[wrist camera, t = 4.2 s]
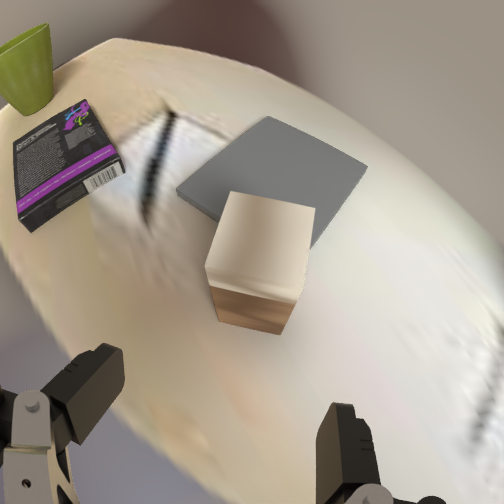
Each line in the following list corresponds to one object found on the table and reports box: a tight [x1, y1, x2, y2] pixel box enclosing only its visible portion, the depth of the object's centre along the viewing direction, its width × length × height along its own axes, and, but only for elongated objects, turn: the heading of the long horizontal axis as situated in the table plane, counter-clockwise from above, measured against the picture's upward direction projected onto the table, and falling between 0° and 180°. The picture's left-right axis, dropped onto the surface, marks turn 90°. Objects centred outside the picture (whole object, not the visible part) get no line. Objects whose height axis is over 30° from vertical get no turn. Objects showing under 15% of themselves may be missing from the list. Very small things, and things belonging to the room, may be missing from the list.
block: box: [204, 191, 315, 335], centre depth 20 cm, size 5×5×10 cm
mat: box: [176, 116, 368, 249], centre depth 31 cm, size 14×16×1 cm
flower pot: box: [0, 23, 53, 116], centre depth 35 cm, size 15×15×16 cm
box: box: [13, 99, 125, 233], centre depth 32 cm, size 14×4×20 cm
